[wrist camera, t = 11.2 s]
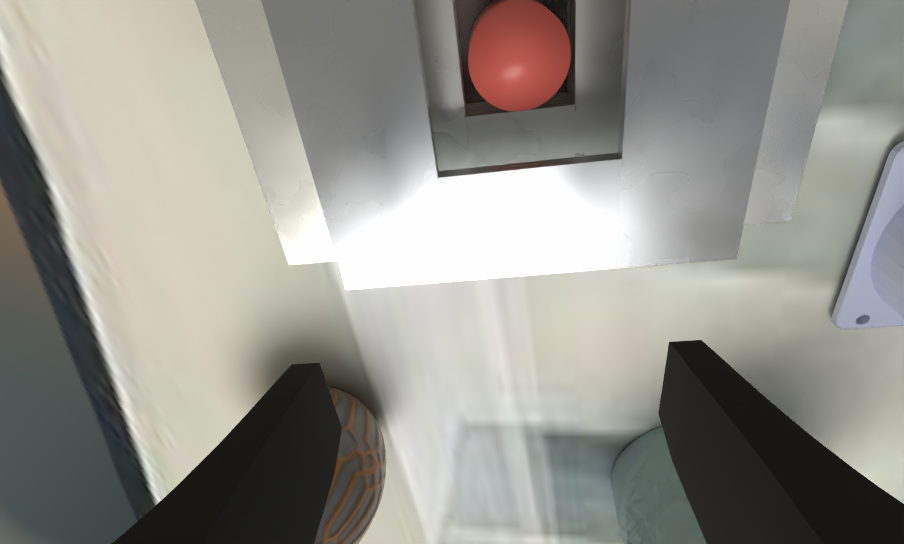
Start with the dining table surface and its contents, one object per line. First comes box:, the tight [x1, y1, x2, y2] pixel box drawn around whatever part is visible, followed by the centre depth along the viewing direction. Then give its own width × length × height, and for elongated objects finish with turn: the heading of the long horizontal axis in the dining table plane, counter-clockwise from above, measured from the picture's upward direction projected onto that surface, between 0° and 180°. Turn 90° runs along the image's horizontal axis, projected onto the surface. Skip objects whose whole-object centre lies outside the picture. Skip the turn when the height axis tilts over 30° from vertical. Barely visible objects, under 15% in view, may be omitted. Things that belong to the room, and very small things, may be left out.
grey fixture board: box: [195, 0, 849, 290], centre depth 14 cm, size 18×13×4 cm
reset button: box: [468, 0, 571, 111], centre depth 15 cm, size 3×3×2 cm
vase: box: [314, 387, 386, 544], centre depth 22 cm, size 7×7×9 cm
